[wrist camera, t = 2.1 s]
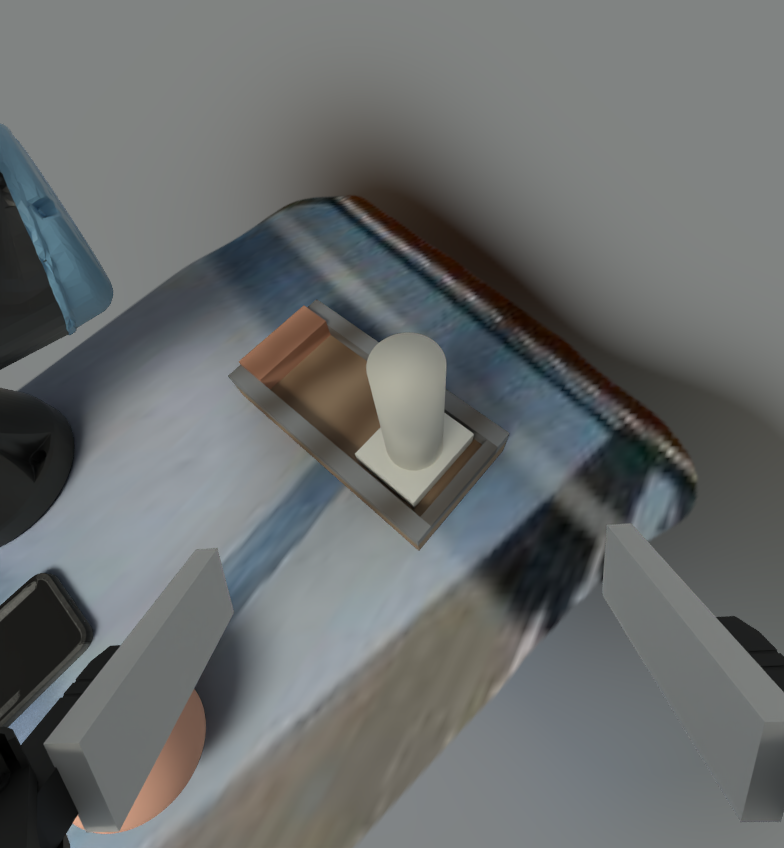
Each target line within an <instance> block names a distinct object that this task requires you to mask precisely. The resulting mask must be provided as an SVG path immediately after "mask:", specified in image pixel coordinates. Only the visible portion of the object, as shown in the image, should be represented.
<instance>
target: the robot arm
mask: <svg viewBox="0 0 784 848" xmlns="http://www.w3.org/2000/svg"><path fill="white" fill-rule="evenodd" d="M112 298H113V288H112V285H111V282H110V280H109V278H108V277H107V275H106V273H105V271H104V269H103V268H102V266H101V264H100V263H99V261H98V259H97V258H96V256H95V254H94V253H93V251H92V250H91V248H90V246H89V245H88V243H87V242H86V240H85V239H84V237H83V235H82V234H81V232H80V231H79V229H78V228H77V226H76V225H75V223H74V221H73V220H72V218H71V217H70V215H69V214H68V212H67V211H66V209H65V208H64V206H63V205H62V203H61V202H60V200H59V199H58V197H57V196H56V194H55V193H54V191H53V190H52V188H51V187H50V185H49V184H48V182H47V181H46V179H45V178H44V176H43V175H42V173H41V172H40V170H39V169H38V167H37V166H36V165H35V163H34V162H33V160H32V159H31V158H30V156H29V155H28V153H27V152H26V150H25V149H24V148H23V147H22V145H21V144H20V142H19V141H18V140H17V139H16V138H15V137H14V135H13V134H12V133H11V131H10V130H9V129H8V128H7V127H6V126H5V125H3V124H1V123H0V370H1V369H2V368H4V367H6V366H8V365H10V364H12V363H14V362H16V361H18V360H20V359H22V358H24V357H26V356H28V355H29V354H31V353H33V352H35V351H37V350H39V349H41V348H43V347H45V346H47V345H48V344H50V343H52V342H54V341H56V340H58V339H60V338H62V337H64V336H66V335H71V334H73V333H74V332H75V331H76V328H77V327H79V326H81V325H82V324H84V323H85V322H87V321H89V320H90V319H92V318H94V317H95V316H97V315H99V314H100V313H102V312H104V311H105V310H106V309H107V307H109V305H110V304H111V301H112ZM73 455H74V438H73V433H72V430H71V427H70V425H69V423H68V421H67V420H66V418H65V417H64V416H63V415H62V414H61V413H60V412H59V411H58V410H56V409H55V408H53V407H51V406H50V405H48V404H46V403H44V402H43V401H41V400H39V399H37V398H36V397H33V396H31V395H28V394H25V393H22V392H17V391H13V390H8V389H3V388H0V546H2V545H4V544H6V543H8V542H10V541H11V540H13V539H14V538H16V537H17V536H19V535H20V534H22V533H23V532H24V531H25V530H27V529H28V528H29V527H30V526H31V525H33V524H34V523H35V522H36V521H37V520H38V519H39V518H40V517H41V516H42V515H43V514H44V513H45V511H46V510H47V509H48V508H49V507H50V505H51V504H52V503H53V501H54V500H55V499H56V497H57V496H58V494H59V492H60V491H61V489H62V487H63V485H64V483H65V481H66V479H67V477H68V474H69V471H70V468H71V465H72V461H73ZM602 595H603V597H604V598H605V600H606V602H607V603H608V605H609V607H610V608H611V610H612V612H613V613H614V615H615V616H616V618H617V620H618V621H619V623H620V625H621V626H622V628H623V630H624V631H625V633H626V634H627V636H628V638H629V639H630V641H631V643H632V644H633V646H634V648H635V649H636V651H637V653H638V654H639V656H640V658H641V659H642V661H643V662H644V664H645V666H646V667H647V669H648V671H649V672H650V674H651V676H652V677H653V679H654V681H655V682H656V684H657V685H658V687H659V689H660V690H661V692H662V694H663V695H664V697H665V699H666V700H667V702H668V703H669V705H670V707H671V708H672V710H673V712H674V713H675V715H676V717H677V718H678V720H679V722H680V723H681V725H682V726H683V728H684V730H685V731H686V732H687V735H688V736H689V738H690V740H691V741H692V743H693V744H694V746H695V748H696V750H697V751H698V753H699V754H700V756H701V758H702V759H703V761H704V763H705V764H706V766H707V767H708V769H709V771H710V773H711V774H712V776H713V777H714V779H715V781H716V782H717V784H718V786H719V787H720V789H721V791H722V792H723V794H724V795H725V797H726V799H727V800H728V802H729V804H730V805H731V807H732V809H733V810H734V812H735V813H736V815H737V817H738V819H739V820H740V822H779V821H781V819H782V816H783V812H784V656H783V655H782V654H781V653H778V652H777V650H776V648H775V647H774V646H773V645H772V644H771V643H769V641H768V640H767V639H766V638H765V637H764V636H763V635H762V634H761V633H760V632H759V631H757V630H756V629H754V628H752V627H751V626H749V625H748V624H746V623H745V622H743V621H742V620H740V619H738V618H737V617H735V616H730V617H715V616H714V615H713V614H712V612H711V611H710V610H709V609H708V608H707V607H706V606H705V605H704V604H703V602H702V601H701V600H700V599H699V598H698V597H697V596H696V595H695V594H694V592H693V591H692V590H691V589H690V588H689V587H688V586H687V585H686V584H685V583H684V581H683V580H682V579H681V578H680V577H679V576H678V575H677V574H676V573H675V571H674V570H673V569H672V568H671V567H670V566H669V565H668V564H667V563H666V561H665V560H664V559H663V558H662V557H661V556H660V555H659V554H658V553H657V552H656V550H655V549H654V548H653V547H652V546H651V545H650V544H649V543H648V542H647V540H646V539H645V538H644V537H643V536H642V535H641V534H640V533H639V532H638V530H637V529H636V528H635V527H634V526H633V525H632V524H614V525H607V531H606V545H605V559H604V574H603V588H602ZM233 614H234V611H233V607H232V603H231V599H230V595H229V591H228V587H227V583H226V580H225V576H224V572H223V568H222V564H221V560H220V556H219V552H218V548H213V549H197V550H195V552H194V553H193V554H192V555H191V557H190V558H189V559H188V560H187V562H186V563H185V564H184V566H183V567H182V568H181V569H180V571H179V572H178V573H177V574H176V576H175V577H174V578H173V580H172V581H171V582H170V583H169V585H168V586H167V587H166V588H165V590H164V591H163V592H162V593H161V595H160V596H159V597H158V599H157V600H156V601H155V602H154V604H153V605H152V606H151V607H150V609H149V610H148V611H147V613H146V614H145V615H144V616H143V618H142V619H141V620H140V621H139V623H138V624H137V625H136V627H135V628H134V629H133V630H132V632H131V633H130V634H129V635H128V637H127V638H126V639H125V641H124V642H123V643H122V644H121V645H117V646H110V647H108V648H107V649H106V650H104V651H103V652H102V653H101V654H99V655H98V656H97V657H96V658H94V659H93V660H92V661H91V662H90V663H89V664H88V665H87V666H86V668H85V669H84V670H83V671H82V672H81V674H80V675H79V676H78V677H77V678H76V682H75V683H72V684H71V686H70V687H69V688H68V689H67V690H66V692H65V693H64V696H63V698H60V699H59V700H58V701H57V703H56V704H55V705H54V706H53V707H52V709H51V710H50V711H49V712H48V713H47V715H46V716H45V717H44V718H43V719H42V721H41V722H40V723H39V724H38V725H37V727H36V728H35V729H34V730H33V731H32V733H31V734H30V735H29V736H28V737H27V739H26V740H25V741H24V742H23V743H22V745H20V743H19V741H18V739H17V737H16V735H15V733H14V731H13V729H10V728H7V727H0V848H70V843H69V840H68V838H67V835H66V833H67V831H68V830H69V828H70V826H71V825H72V823H73V822H74V820H75V818H76V817H77V815H78V816H79V819H80V821H81V823H82V825H83V827H84V829H85V831H86V832H119V831H120V829H121V827H122V825H123V823H124V821H125V819H126V817H127V816H128V814H129V812H130V810H131V808H132V806H133V804H134V802H135V800H136V798H137V796H138V795H139V793H140V791H141V789H142V787H143V785H144V783H145V781H146V779H147V777H148V776H149V774H150V772H151V770H152V768H153V766H154V764H155V762H156V760H157V758H158V756H159V755H160V753H161V751H162V749H163V747H164V745H165V743H166V741H167V739H168V737H169V736H170V734H171V732H172V730H173V728H174V726H175V724H176V722H177V720H178V718H179V716H180V715H181V713H182V711H183V709H184V707H185V705H186V703H187V701H188V699H189V697H190V696H191V694H192V692H193V690H194V688H195V686H196V684H197V682H198V680H199V678H200V676H201V675H202V673H203V671H204V669H205V667H206V665H207V663H208V661H209V659H210V657H211V656H212V654H213V652H214V650H215V648H216V646H217V644H218V642H219V640H220V638H221V636H222V635H223V633H224V631H225V629H226V627H227V625H228V623H229V621H230V619H231V617H232V616H233Z"/></svg>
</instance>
